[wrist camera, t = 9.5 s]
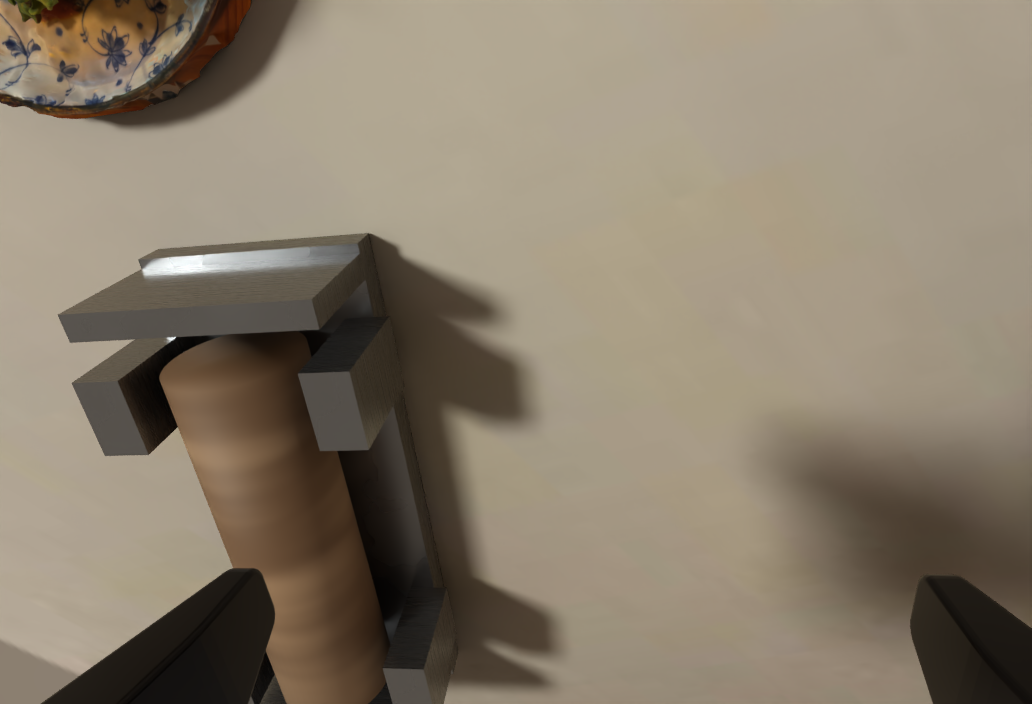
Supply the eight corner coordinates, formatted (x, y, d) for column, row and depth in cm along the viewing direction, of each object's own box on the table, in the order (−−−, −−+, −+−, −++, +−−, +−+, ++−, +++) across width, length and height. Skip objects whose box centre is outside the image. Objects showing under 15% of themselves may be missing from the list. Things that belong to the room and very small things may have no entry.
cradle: (384, 232, 20) (327, 286, 16) (469, 653, 28) (445, 760, 24) (143, 250, 21) (35, 305, 17) (290, 648, 29) (239, 748, 25)
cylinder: (208, 331, 21) (127, 395, 18) (328, 324, 20) (268, 389, 17) (309, 625, 27) (263, 718, 23) (405, 628, 26) (373, 724, 23)
